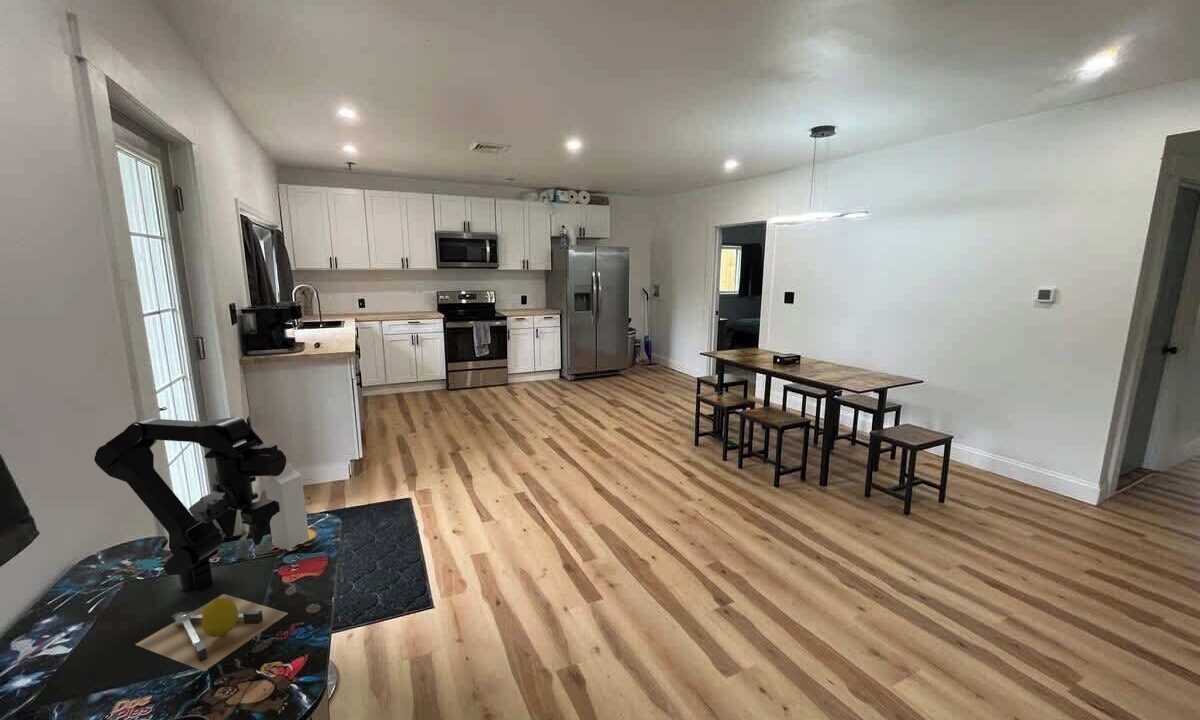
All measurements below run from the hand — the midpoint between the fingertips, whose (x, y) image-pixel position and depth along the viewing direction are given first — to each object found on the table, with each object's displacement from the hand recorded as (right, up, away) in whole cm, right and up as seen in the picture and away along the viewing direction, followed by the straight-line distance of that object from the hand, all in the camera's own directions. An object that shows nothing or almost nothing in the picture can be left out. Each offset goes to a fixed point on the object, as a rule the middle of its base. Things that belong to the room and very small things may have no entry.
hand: (243, 540), depth 109 cm
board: (+3, -14, -12) cm, 19 cm away
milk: (-3, -9, +21) cm, 23 cm away
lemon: (+7, -13, -15) cm, 21 cm away
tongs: (+2, -13, -13) cm, 18 cm away
